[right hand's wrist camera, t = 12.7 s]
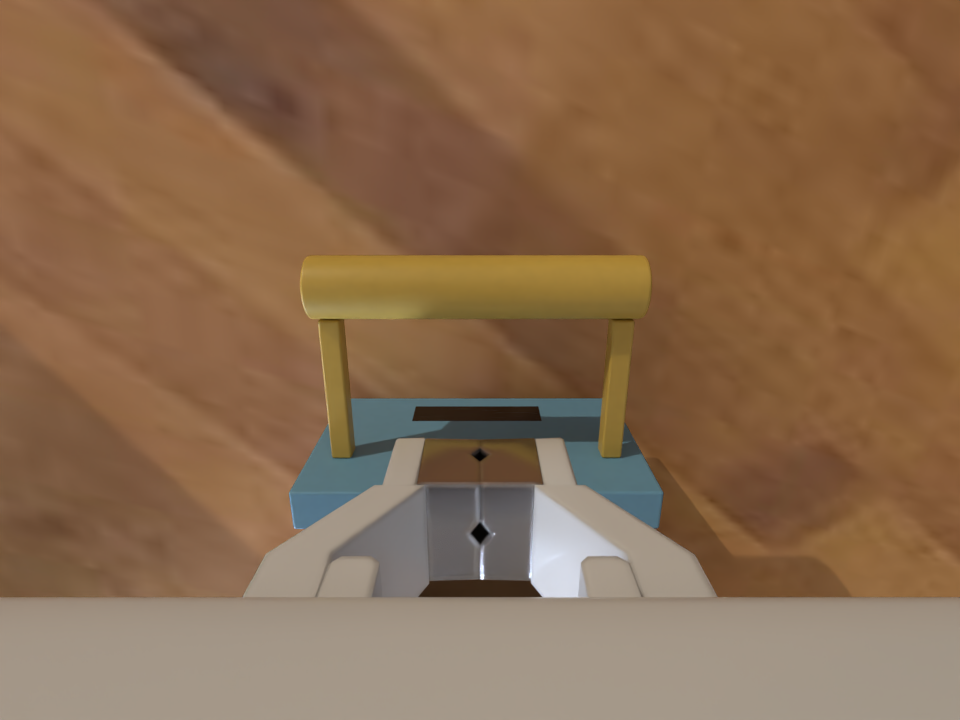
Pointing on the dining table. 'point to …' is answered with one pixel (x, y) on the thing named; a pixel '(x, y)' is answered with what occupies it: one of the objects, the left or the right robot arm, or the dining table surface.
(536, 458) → the right robot arm
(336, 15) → the dining table surface
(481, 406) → the drawer
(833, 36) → the dining table surface
